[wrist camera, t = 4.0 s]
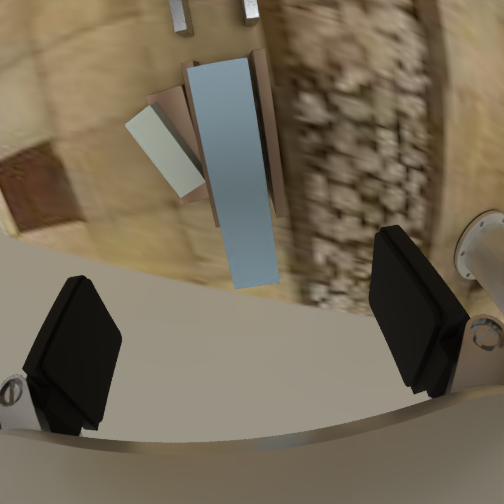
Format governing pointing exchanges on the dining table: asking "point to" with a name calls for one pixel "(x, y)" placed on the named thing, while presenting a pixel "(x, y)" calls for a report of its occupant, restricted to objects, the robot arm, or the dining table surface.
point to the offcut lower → (180, 128)
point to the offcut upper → (167, 149)
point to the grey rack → (184, 18)
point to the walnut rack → (267, 130)
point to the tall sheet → (236, 168)
